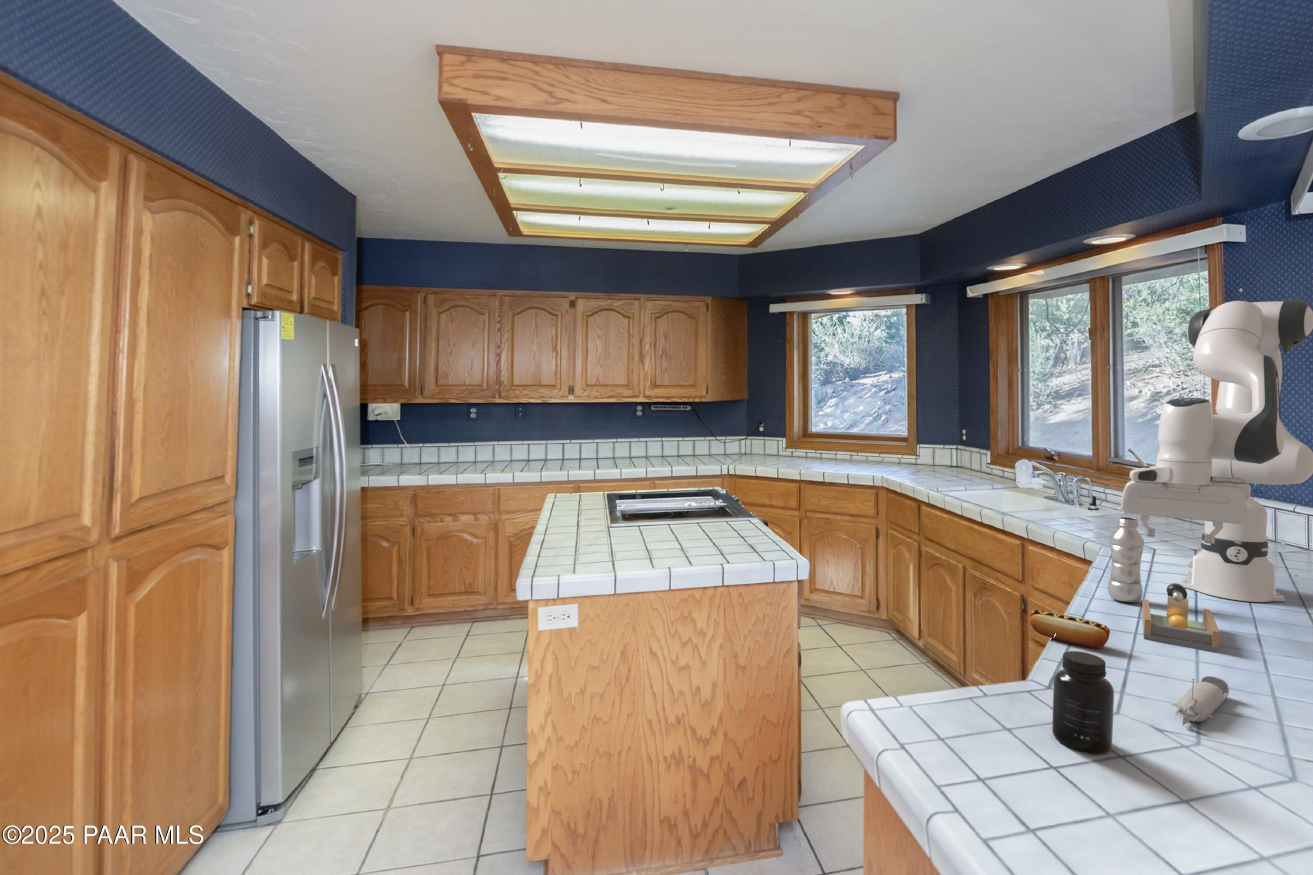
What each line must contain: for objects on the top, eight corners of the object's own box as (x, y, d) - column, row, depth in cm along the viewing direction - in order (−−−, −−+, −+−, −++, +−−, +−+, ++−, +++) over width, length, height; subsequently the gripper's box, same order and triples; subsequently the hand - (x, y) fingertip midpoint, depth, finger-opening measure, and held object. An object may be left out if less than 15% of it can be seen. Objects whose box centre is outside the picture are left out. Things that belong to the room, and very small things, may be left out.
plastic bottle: (1148, 606, 139) (1153, 521, 138) (1115, 604, 140) (1119, 520, 139) (1132, 597, 145) (1136, 516, 144) (1101, 595, 147) (1105, 515, 146)
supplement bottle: (1052, 723, 88) (1055, 643, 87) (1110, 738, 84) (1114, 654, 83) (1050, 745, 82) (1054, 659, 81) (1113, 762, 78) (1117, 672, 77)
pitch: (1141, 616, 132) (1142, 598, 132) (1208, 628, 126) (1210, 609, 125) (1143, 638, 120) (1144, 619, 119) (1218, 652, 113) (1219, 632, 113)
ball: (1167, 626, 124) (1168, 611, 124) (1187, 629, 122) (1187, 615, 122) (1168, 630, 122) (1169, 615, 121) (1188, 633, 120) (1189, 619, 120)
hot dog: (1106, 655, 112) (1107, 629, 112) (1025, 635, 122) (1026, 611, 121) (1111, 648, 115) (1112, 622, 115) (1033, 629, 125) (1034, 605, 125)
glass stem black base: (1165, 613, 130) (1166, 582, 129) (1184, 616, 128) (1186, 584, 127) (1166, 621, 125) (1168, 588, 124) (1187, 625, 123) (1189, 591, 123)
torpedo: (1196, 689, 99) (1198, 651, 98) (1235, 701, 95) (1238, 661, 95) (1162, 723, 88) (1164, 679, 88) (1204, 737, 84) (1207, 692, 84)
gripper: (1249, 477, 122) (1244, 544, 123) (1122, 470, 135) (1119, 530, 135) (1254, 480, 117) (1250, 549, 118) (1122, 472, 130) (1119, 535, 130)
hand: (1179, 539), depth 127 cm, fingers open, 8 cm apart
